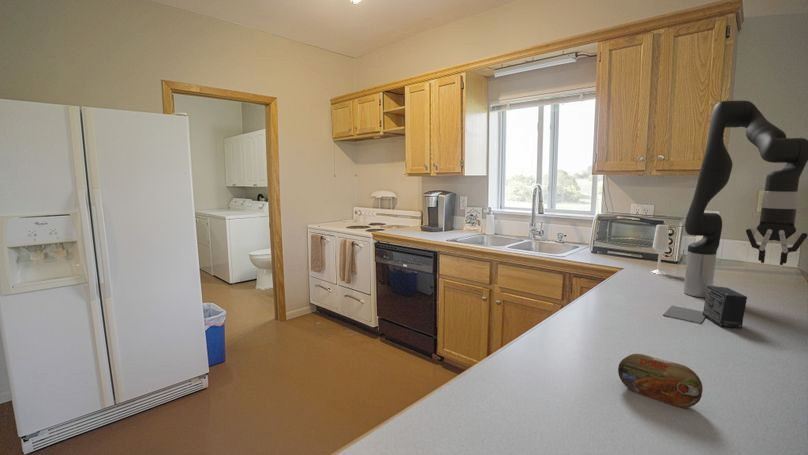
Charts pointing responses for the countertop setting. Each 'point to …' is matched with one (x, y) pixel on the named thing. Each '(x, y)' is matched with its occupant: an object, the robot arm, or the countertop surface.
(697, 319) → the mat
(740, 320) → the small box
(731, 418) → the countertop surface
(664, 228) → the champagne flute
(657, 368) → the tin
